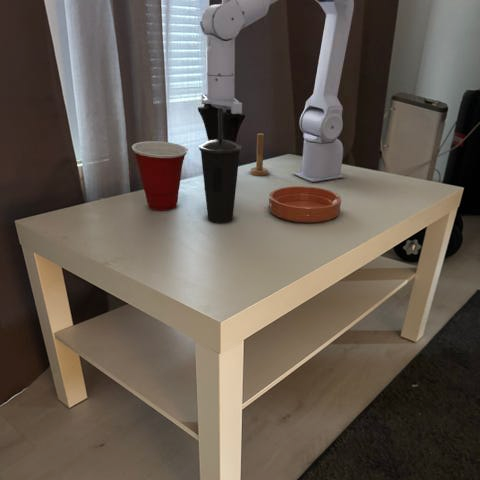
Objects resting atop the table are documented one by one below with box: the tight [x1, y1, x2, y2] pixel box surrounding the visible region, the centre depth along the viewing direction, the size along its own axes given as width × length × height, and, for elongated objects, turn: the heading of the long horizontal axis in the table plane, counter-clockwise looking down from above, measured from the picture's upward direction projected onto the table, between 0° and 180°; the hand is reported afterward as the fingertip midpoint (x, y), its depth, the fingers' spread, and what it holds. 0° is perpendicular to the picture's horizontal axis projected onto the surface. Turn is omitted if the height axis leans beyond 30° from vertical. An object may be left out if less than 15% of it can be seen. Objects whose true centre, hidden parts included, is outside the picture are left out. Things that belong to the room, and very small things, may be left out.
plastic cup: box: [131, 140, 188, 211], centre depth 97 cm, size 11×11×12 cm
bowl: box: [268, 185, 342, 224], centre depth 97 cm, size 14×14×3 cm
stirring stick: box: [250, 133, 269, 177], centre depth 120 cm, size 4×4×10 cm
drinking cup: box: [198, 108, 242, 224], centre depth 89 cm, size 8×8×20 cm
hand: (221, 144), depth 105 cm, fingers open, 7 cm apart
